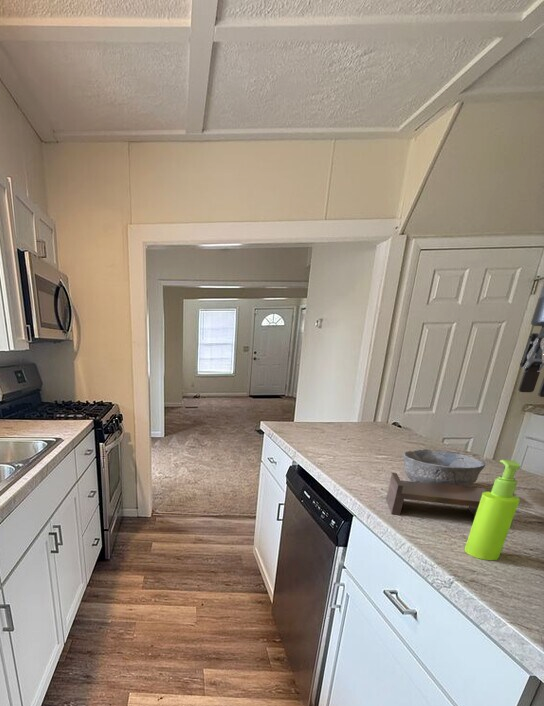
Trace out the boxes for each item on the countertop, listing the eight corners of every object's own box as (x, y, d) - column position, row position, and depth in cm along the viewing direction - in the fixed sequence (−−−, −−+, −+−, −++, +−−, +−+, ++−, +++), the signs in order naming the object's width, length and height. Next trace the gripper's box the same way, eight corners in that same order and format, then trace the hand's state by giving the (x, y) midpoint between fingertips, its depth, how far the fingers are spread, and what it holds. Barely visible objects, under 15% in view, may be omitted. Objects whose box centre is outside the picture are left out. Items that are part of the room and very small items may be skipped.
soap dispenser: (492, 548, 88) (524, 459, 80) (502, 562, 82) (537, 468, 74) (460, 543, 90) (488, 456, 82) (467, 557, 84) (498, 465, 76)
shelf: (476, 509, 108) (486, 481, 105) (492, 526, 98) (502, 495, 95) (385, 499, 116) (391, 472, 113) (391, 514, 106) (398, 485, 102)
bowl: (479, 506, 110) (490, 471, 107) (394, 493, 120) (402, 460, 117) (472, 485, 127) (482, 454, 123) (398, 475, 137) (405, 446, 133)
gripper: (625, 287, 60) (582, 399, 66) (575, 297, 72) (542, 391, 78) (561, 290, 62) (525, 398, 68) (523, 299, 74) (496, 390, 81)
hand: (535, 394), depth 73 cm, fingers open, 8 cm apart
